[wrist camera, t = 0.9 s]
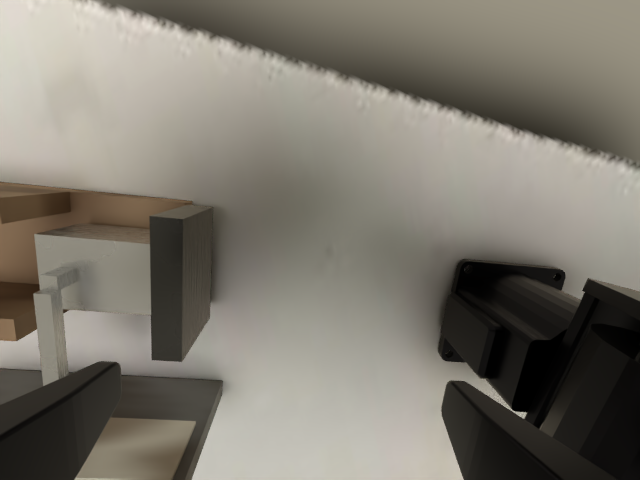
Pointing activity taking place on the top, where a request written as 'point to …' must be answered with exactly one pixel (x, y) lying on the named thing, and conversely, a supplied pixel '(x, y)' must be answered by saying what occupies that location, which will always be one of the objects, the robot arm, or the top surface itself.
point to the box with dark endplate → (126, 280)
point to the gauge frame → (137, 392)
